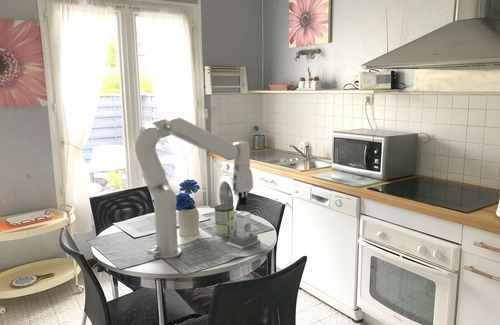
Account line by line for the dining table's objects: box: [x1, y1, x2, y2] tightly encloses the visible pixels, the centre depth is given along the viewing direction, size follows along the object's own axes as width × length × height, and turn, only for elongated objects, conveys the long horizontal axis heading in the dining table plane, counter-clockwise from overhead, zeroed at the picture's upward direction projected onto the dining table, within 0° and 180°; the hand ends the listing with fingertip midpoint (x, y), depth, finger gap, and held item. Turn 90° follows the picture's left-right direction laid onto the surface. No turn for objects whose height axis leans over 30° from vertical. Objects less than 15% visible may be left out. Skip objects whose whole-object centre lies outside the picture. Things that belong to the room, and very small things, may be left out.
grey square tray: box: [228, 232, 259, 247], centre depth 203 cm, size 10×10×3 cm
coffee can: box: [213, 203, 235, 237], centre depth 216 cm, size 10×10×14 cm
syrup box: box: [234, 210, 252, 239], centre depth 202 cm, size 6×6×14 cm
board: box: [225, 238, 261, 250], centre depth 203 cm, size 14×10×1 cm
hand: (242, 204), depth 200 cm, fingers closed
